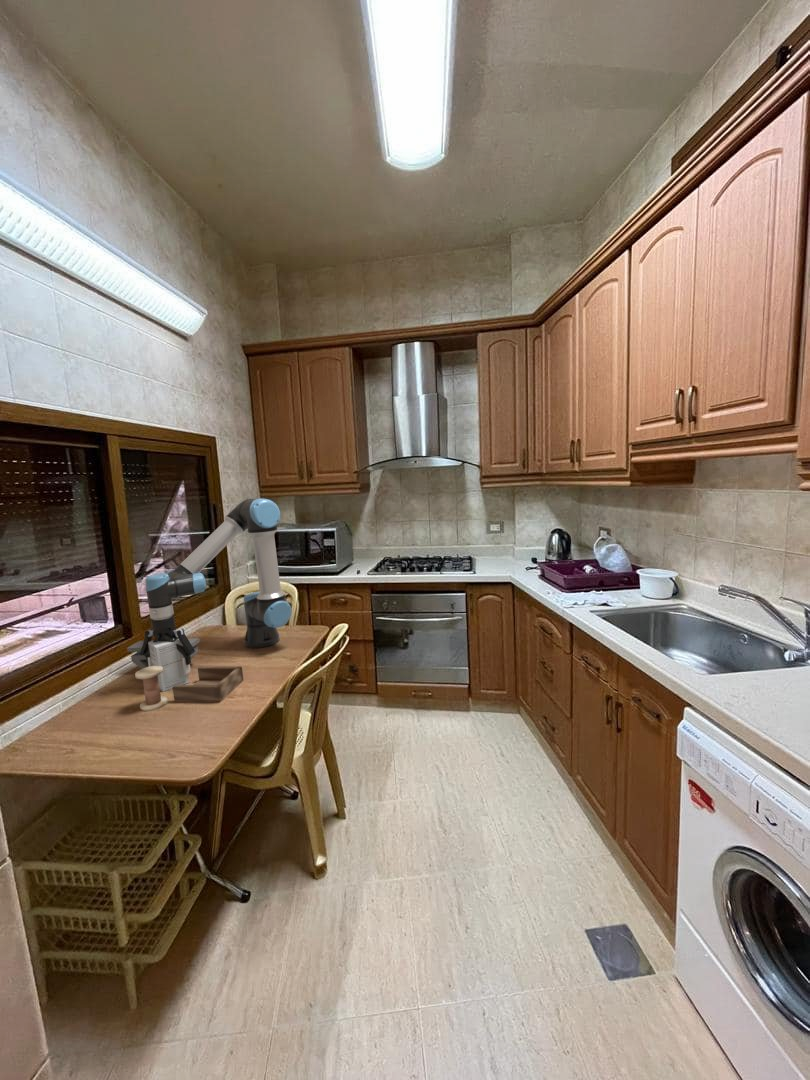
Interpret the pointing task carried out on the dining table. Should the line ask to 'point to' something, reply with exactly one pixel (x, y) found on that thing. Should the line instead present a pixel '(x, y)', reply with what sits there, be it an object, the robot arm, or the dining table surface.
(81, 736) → the dining table surface
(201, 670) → the open wooden tray
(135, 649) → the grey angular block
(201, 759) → the dining table surface
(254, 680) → the dining table surface
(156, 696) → the bobbin post
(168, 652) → the supplement box
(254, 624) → the robot arm
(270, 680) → the dining table surface
